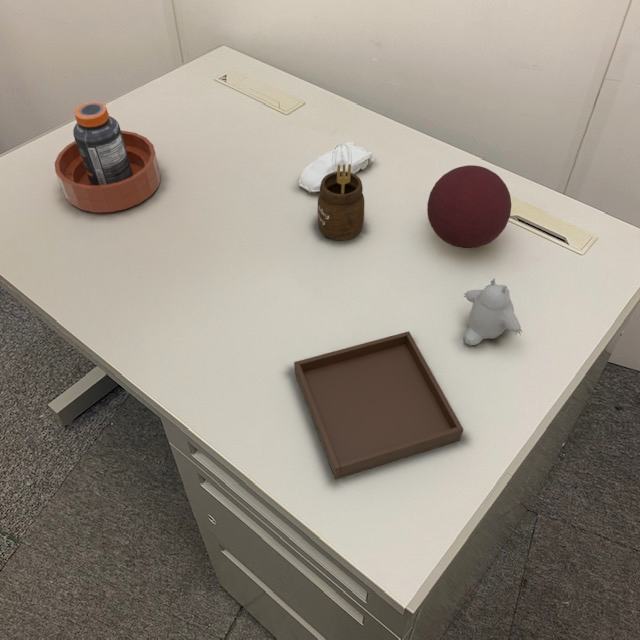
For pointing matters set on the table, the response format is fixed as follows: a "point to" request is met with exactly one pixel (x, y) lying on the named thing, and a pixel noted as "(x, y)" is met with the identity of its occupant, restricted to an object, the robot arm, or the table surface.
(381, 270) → the table surface
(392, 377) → the tray
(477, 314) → the figurine
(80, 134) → the pill bottle
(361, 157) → the toy car
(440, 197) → the decorative ball
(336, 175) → the utensil holder
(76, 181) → the bowl
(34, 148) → the table surface
